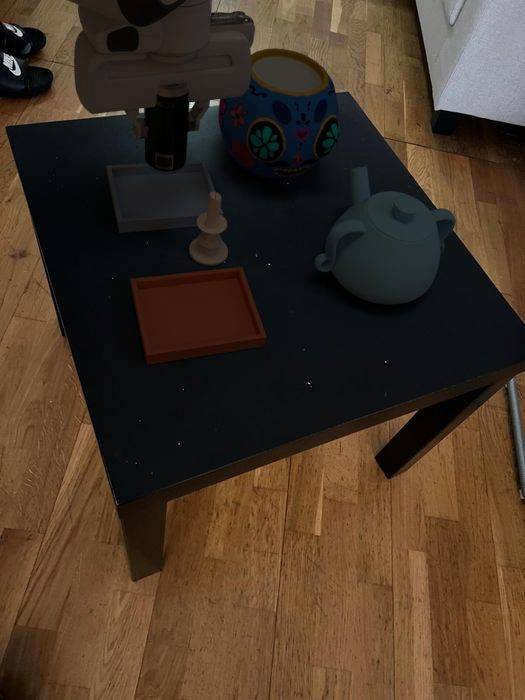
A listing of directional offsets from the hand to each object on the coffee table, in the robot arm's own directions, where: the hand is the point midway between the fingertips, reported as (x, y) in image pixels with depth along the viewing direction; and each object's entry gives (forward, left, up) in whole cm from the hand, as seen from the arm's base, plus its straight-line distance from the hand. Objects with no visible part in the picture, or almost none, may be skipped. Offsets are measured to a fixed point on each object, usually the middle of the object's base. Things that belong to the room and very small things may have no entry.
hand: (165, 132), depth 67 cm
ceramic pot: (+18, +7, -11) cm, 22 cm away
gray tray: (0, 0, -11) cm, 11 cm away
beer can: (0, 0, -5) cm, 5 cm away
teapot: (+26, -15, -11) cm, 32 cm away
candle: (+4, -10, -11) cm, 16 cm away
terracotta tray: (0, -21, -11) cm, 24 cm away
